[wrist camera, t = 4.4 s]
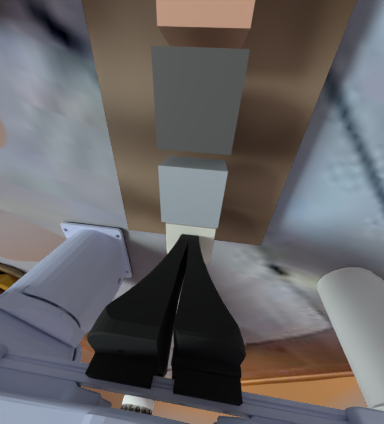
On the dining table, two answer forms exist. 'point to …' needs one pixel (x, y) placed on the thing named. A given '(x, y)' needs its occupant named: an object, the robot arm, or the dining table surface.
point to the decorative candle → (137, 404)
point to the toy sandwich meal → (8, 277)
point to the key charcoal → (197, 97)
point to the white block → (204, 234)
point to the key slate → (192, 190)
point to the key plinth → (248, 112)
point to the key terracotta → (205, 22)
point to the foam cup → (358, 325)
